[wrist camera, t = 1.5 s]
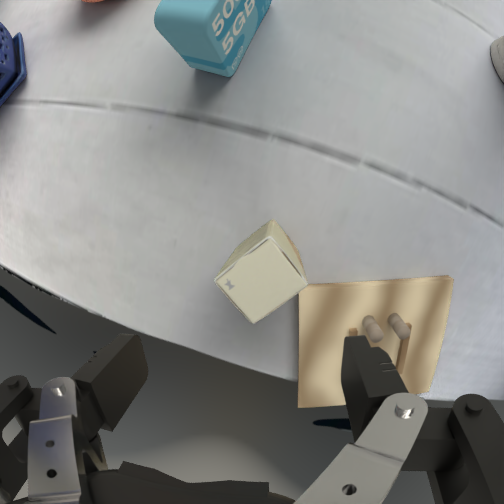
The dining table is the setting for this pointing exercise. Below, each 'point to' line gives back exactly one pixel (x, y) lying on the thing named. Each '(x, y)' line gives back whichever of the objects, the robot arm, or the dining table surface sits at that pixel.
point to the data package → (210, 30)
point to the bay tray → (370, 331)
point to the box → (262, 273)
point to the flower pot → (10, 62)
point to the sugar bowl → (92, 0)
